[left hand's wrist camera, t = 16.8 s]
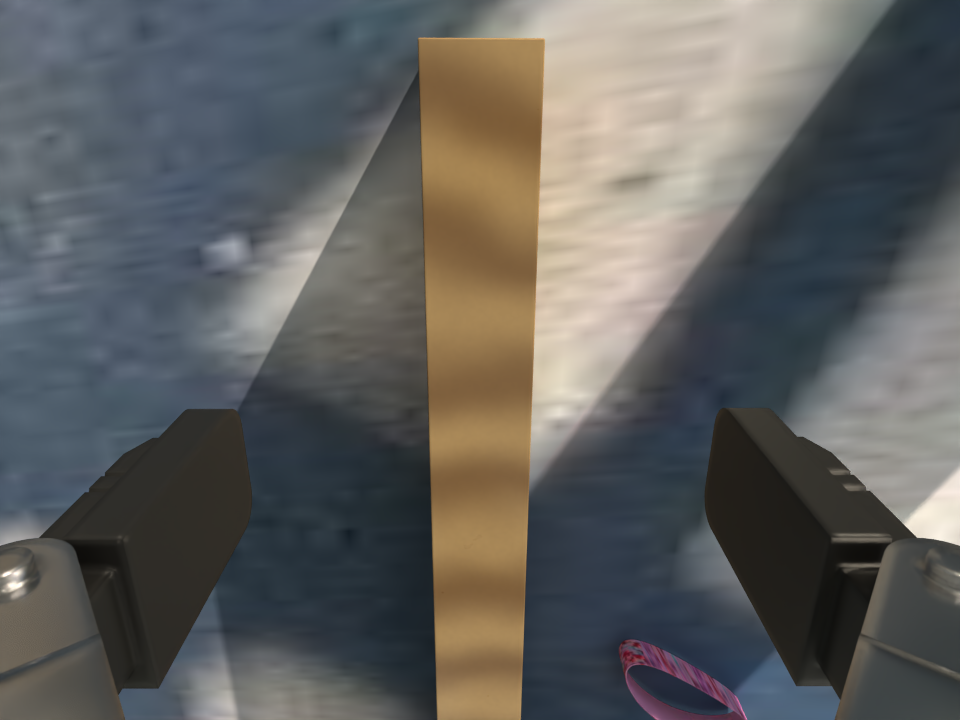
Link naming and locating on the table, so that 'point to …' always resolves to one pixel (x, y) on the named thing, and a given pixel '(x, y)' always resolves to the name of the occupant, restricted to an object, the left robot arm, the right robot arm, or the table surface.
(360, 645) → the table surface
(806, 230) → the table surface
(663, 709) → the headband
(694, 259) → the table surface
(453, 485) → the post
